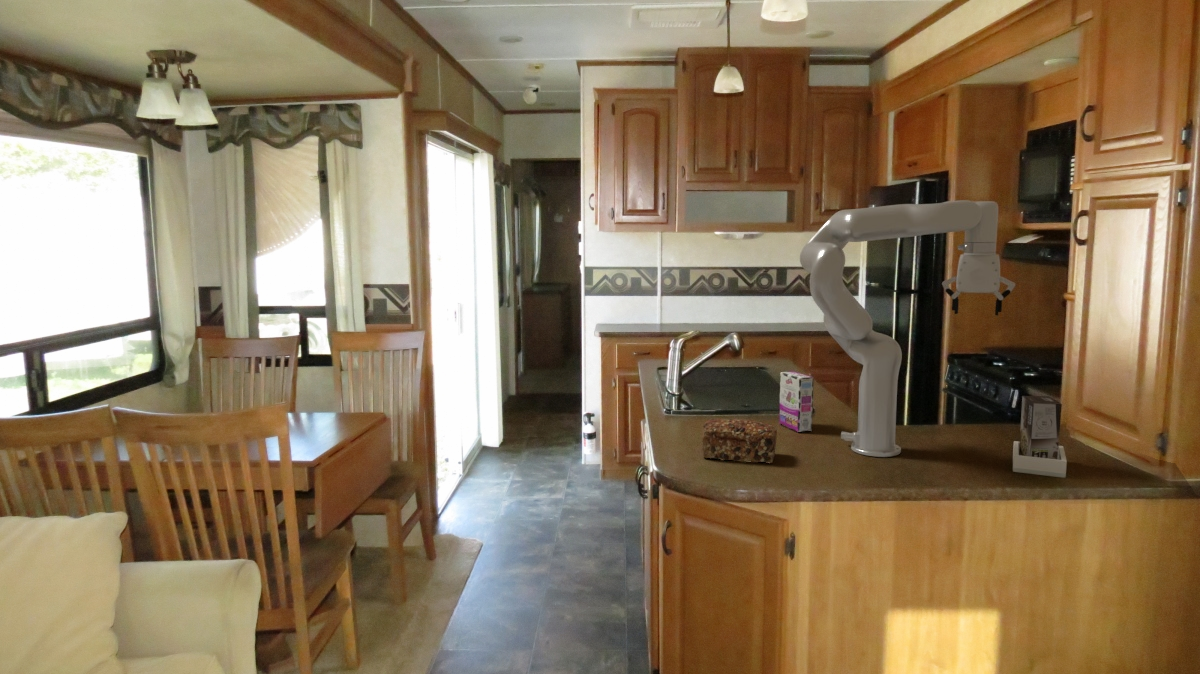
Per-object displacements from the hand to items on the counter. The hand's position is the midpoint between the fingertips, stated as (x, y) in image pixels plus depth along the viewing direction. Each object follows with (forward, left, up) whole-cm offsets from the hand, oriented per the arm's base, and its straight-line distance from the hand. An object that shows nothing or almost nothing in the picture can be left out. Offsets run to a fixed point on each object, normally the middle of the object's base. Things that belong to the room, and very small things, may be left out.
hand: (976, 314), depth 201 cm
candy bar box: (-47, 0, -36) cm, 60 cm away
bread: (-53, -34, -37) cm, 73 cm away
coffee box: (+16, -11, -36) cm, 40 cm away
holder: (+16, -11, -36) cm, 41 cm away
